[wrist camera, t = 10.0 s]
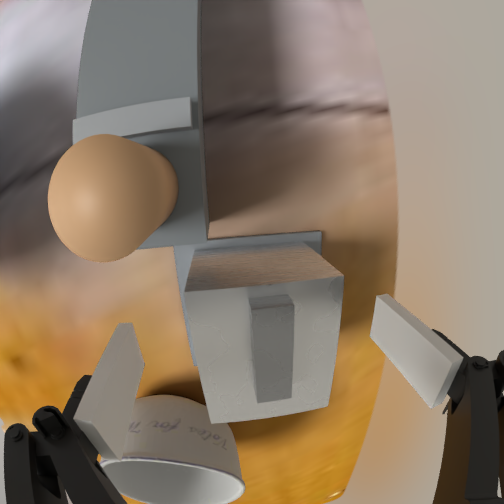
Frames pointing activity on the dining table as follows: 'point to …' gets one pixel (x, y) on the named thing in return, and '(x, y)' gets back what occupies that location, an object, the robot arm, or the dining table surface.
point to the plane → (135, 134)
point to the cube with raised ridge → (264, 329)
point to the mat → (186, 251)
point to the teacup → (176, 455)
